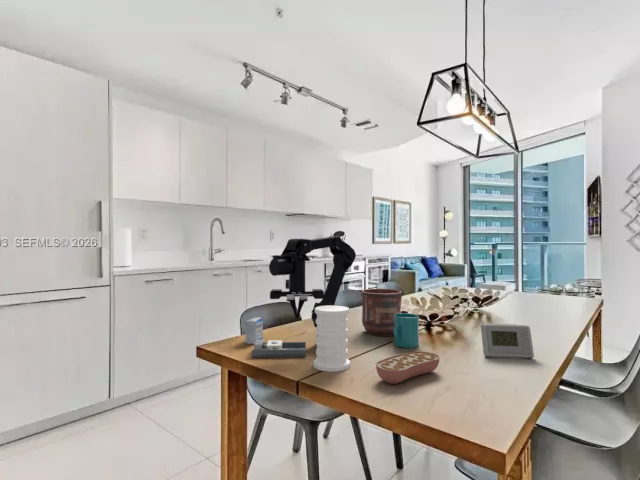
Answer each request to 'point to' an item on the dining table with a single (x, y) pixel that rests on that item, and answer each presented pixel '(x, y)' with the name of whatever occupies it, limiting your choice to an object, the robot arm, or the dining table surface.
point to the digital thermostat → (507, 341)
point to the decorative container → (331, 338)
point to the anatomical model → (406, 366)
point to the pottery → (380, 310)
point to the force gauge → (273, 344)
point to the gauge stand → (279, 350)
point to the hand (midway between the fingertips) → (297, 318)
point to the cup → (406, 330)
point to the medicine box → (253, 330)
